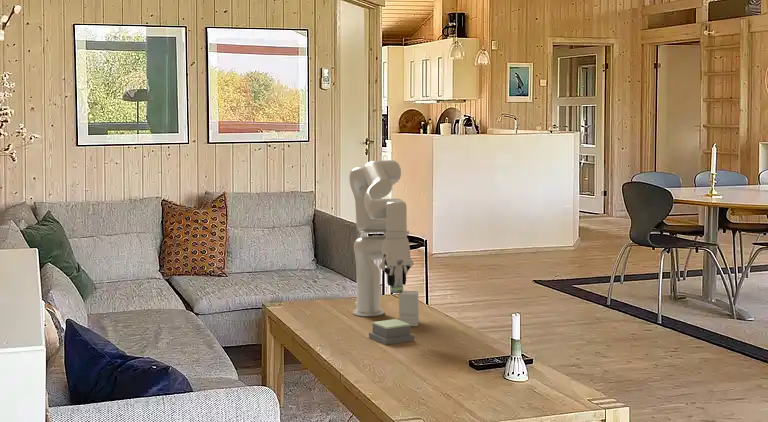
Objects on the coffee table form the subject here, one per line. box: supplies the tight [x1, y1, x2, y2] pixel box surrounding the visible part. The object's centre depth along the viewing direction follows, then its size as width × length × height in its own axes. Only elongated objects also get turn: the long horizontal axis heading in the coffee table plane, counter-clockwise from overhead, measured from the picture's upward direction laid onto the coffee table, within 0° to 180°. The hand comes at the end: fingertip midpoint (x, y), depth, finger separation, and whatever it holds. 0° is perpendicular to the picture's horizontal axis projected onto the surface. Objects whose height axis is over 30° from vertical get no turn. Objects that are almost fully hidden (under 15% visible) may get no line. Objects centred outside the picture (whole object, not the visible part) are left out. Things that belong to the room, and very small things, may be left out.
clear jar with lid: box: [390, 260, 404, 294], centre depth 354 cm, size 5×5×12 cm
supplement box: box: [398, 290, 420, 327], centre depth 377 cm, size 7×7×13 cm
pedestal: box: [368, 318, 415, 346], centre depth 354 cm, size 12×12×6 cm
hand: (396, 284), depth 354 cm, fingers closed on clear jar with lid, 4 cm apart
